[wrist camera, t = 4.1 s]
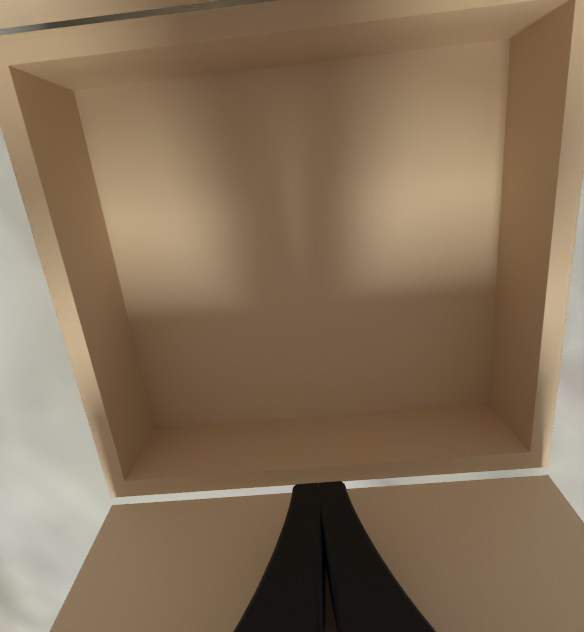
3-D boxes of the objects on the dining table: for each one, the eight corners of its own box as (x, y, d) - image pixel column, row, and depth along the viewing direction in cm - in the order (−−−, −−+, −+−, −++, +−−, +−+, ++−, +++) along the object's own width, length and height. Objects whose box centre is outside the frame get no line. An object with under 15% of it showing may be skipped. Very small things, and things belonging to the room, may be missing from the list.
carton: (522, 19, 12) (608, -42, 9) (497, 407, 16) (548, 466, 13) (59, 75, 13) (-26, 38, 9) (148, 434, 17) (110, 497, 13)
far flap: (673, 642, 8) (666, 657, 9) (548, 474, 12) (545, 487, 13) (28, 674, 9) (36, 687, 9) (112, 505, 13) (116, 516, 13)
